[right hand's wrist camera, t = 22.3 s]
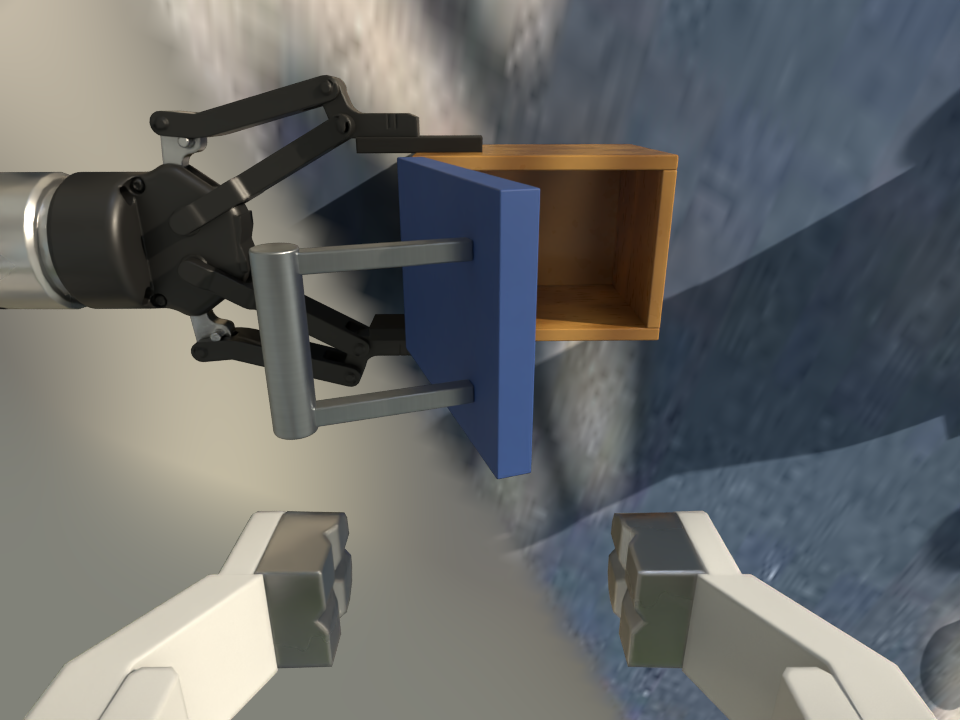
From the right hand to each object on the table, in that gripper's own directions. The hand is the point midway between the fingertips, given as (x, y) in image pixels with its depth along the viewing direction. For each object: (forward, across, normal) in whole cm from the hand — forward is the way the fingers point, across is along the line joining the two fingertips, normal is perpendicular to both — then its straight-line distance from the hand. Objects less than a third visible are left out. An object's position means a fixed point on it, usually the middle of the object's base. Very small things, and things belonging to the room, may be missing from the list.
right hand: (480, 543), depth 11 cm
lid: (+16, 0, 0) cm, 16 cm away
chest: (+33, -3, 0) cm, 33 cm away
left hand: (+27, 0, 0) cm, 27 cm away
